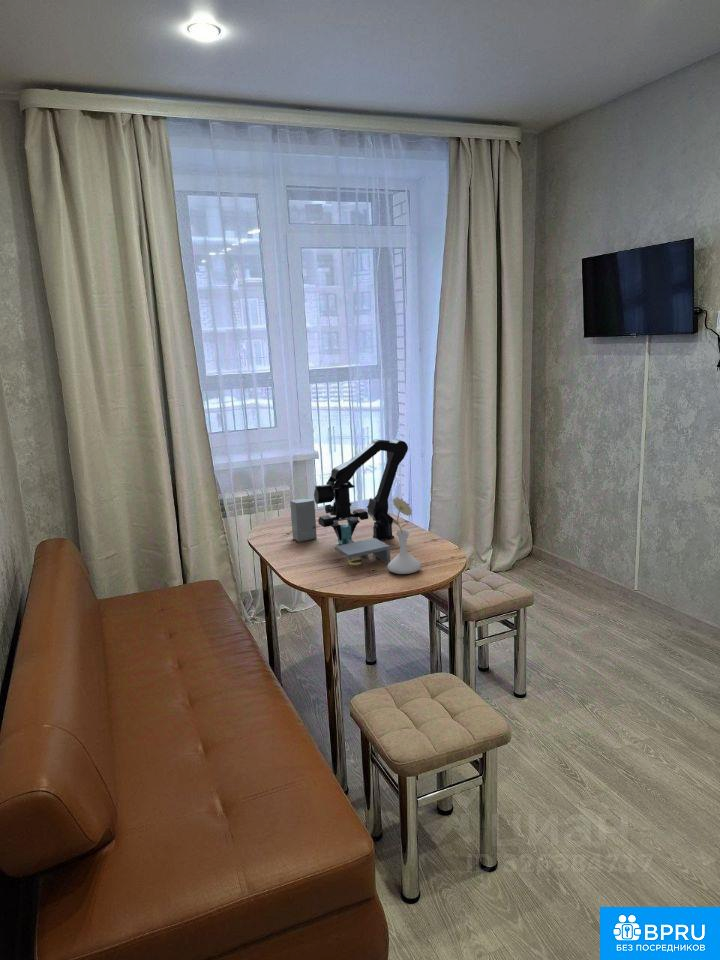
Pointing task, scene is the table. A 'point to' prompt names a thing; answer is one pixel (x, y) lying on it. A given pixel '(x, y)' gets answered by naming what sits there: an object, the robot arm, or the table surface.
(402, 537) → the flower in vase
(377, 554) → the shelf
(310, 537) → the skincare box
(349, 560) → the token
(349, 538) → the blade tool
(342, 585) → the table surface
